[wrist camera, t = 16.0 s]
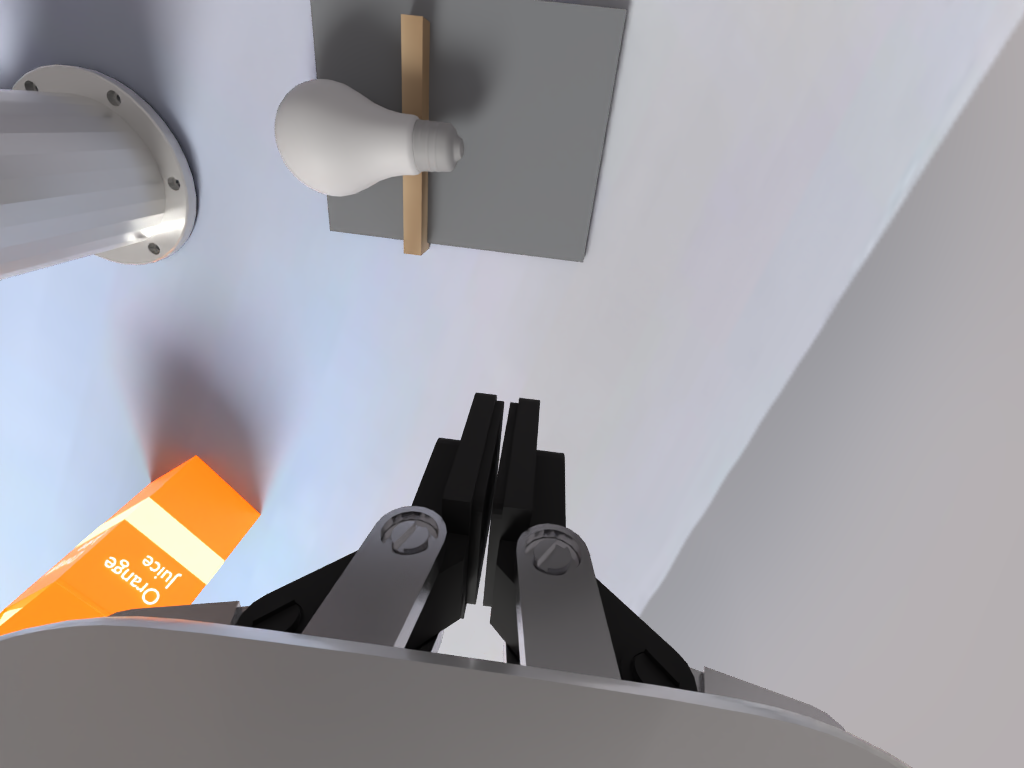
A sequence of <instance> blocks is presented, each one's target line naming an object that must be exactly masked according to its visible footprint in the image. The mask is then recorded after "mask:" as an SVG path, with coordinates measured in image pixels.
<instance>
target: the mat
mask: <svg viewBox="0 0 1024 768" xmlns="http://www.w3.org/2000/svg"><path fill="white" fill-rule="evenodd" d="M310 3H311V14H312V26H313V38H314V49H315V61H316V73H317V79H329V80H333V81H336V82H339V83H343V84H345V85H347V86H349V87H350V88H352V89H354V90H355V91H357V92H359V93H360V94H362V95H363V96H365V97H366V98H368V99H369V100H371V101H372V102H373V103H375V104H377V105H379V106H382V107H384V108H386V109H388V110H392V111H395V112H399V113H402V59H401V14H405V15H414V16H423V17H424V18H425V19H427V20H428V21H429V22H430V57H429V121H436V122H444V123H451V124H452V125H453V126H454V127H455V129H456V131H457V134H458V136H459V137H460V138H462V139H463V142H464V155H463V158H462V159H460V160H459V161H458V162H457V165H456V167H455V169H454V170H452V171H451V172H429V171H428V222H427V243H432V244H440V245H448V246H456V247H464V248H472V249H480V250H488V251H496V252H504V253H512V254H520V255H528V256H536V257H544V258H552V259H560V260H568V261H576V262H583V260H584V254H585V248H586V242H587V237H588V231H589V225H590V219H591V214H592V208H593V202H594V196H595V191H596V185H597V179H598V173H599V168H600V162H601V156H602V151H603V145H604V139H605V133H606V128H607V122H608V116H609V110H610V105H611V99H612V93H613V87H614V82H615V76H616V70H617V64H618V59H619V53H620V47H621V41H622V36H623V30H624V24H625V18H626V13H627V9H618V8H608V7H599V6H589V5H580V4H570V3H561V2H551V1H542V0H310ZM327 201H328V213H329V224H330V231H336V232H344V233H352V234H360V235H368V236H376V237H384V238H392V239H400V240H404V227H403V175H401V176H395V177H390V178H387V179H384V180H381V181H379V182H377V183H376V184H374V185H372V186H370V187H369V188H367V189H365V190H362V191H360V192H358V193H356V194H352V195H347V196H342V197H339V196H330V195H327Z"/></svg>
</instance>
